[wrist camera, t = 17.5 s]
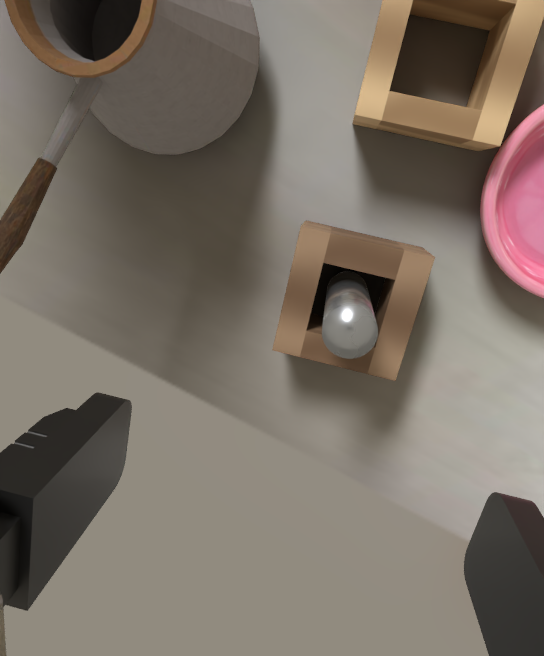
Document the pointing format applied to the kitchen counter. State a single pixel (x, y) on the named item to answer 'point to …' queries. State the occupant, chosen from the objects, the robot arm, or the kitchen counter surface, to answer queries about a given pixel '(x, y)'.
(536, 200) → the saucer
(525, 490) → the kitchen counter surface
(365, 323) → the pin
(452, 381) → the kitchen counter surface
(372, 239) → the walnut block
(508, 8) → the oak block
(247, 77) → the coffee pot
